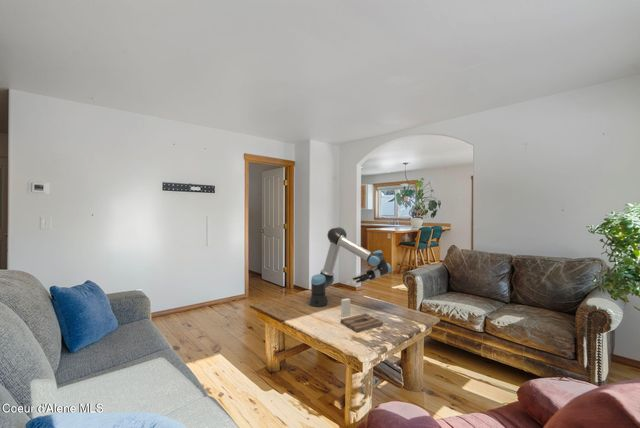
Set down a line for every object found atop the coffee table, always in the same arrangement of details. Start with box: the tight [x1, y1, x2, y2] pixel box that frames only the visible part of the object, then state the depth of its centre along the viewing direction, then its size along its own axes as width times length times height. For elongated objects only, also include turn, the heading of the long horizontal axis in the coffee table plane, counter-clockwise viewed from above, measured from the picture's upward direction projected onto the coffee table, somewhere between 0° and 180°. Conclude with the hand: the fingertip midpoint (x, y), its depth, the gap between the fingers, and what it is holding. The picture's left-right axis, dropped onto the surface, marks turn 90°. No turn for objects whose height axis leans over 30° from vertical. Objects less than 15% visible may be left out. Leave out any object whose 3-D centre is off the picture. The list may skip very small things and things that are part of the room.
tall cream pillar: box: [340, 297, 351, 318], centre depth 212 cm, size 3×6×12 cm, turn 121°
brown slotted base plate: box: [340, 312, 383, 333], centre depth 197 cm, size 18×22×2 cm
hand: (349, 283), depth 219 cm, fingers open, 13 cm apart
